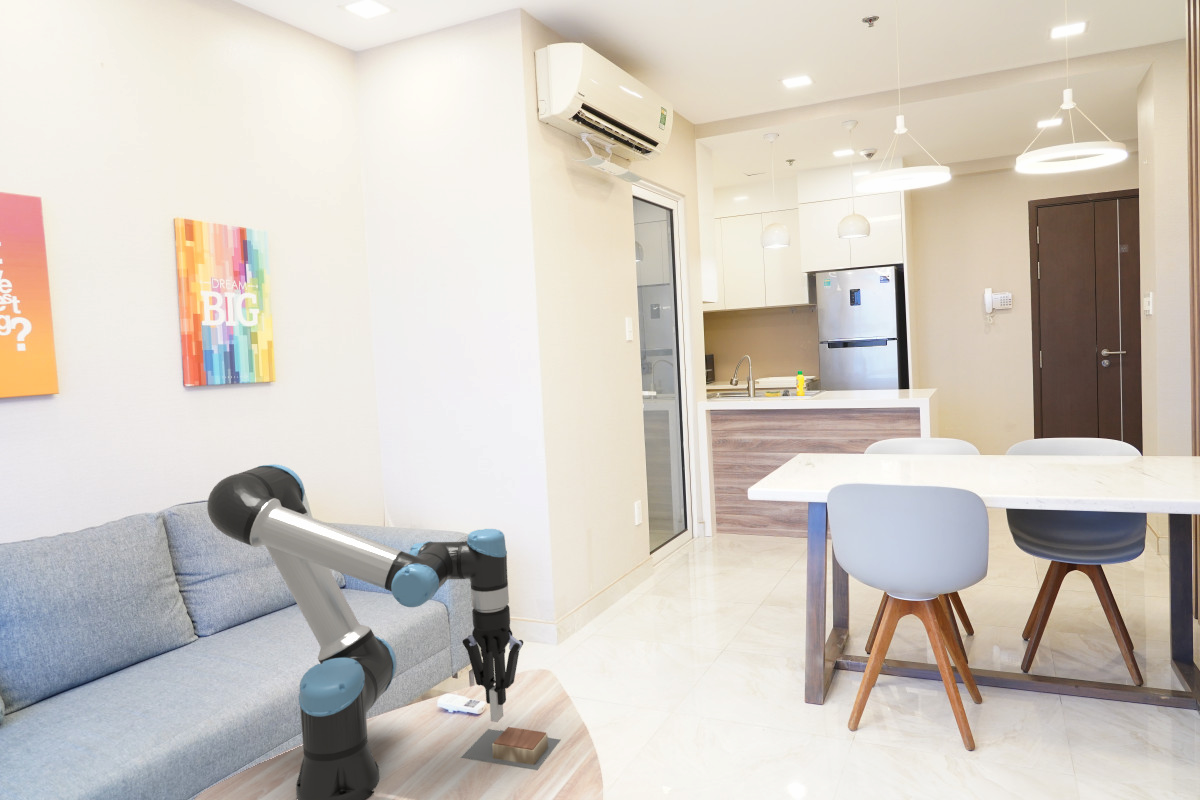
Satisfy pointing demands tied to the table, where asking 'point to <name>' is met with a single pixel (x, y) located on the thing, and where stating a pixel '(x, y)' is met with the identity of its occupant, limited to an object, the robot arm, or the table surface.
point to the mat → (485, 753)
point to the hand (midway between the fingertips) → (497, 718)
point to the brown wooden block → (520, 745)
